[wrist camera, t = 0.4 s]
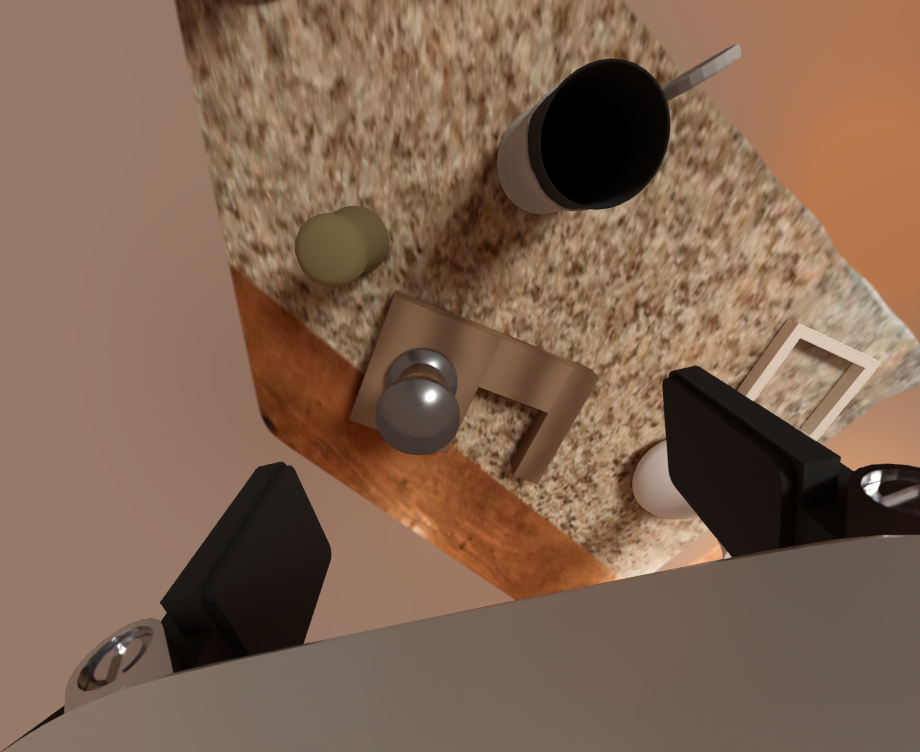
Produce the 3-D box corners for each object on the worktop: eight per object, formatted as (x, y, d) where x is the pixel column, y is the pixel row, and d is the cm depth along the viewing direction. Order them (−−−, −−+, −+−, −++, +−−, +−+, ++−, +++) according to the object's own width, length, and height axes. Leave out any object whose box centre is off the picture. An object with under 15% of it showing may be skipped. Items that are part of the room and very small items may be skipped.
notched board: (353, 409, 46) (348, 420, 44) (396, 290, 42) (393, 295, 39) (533, 471, 50) (537, 484, 48) (591, 368, 46) (599, 377, 43)
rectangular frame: (723, 409, 48) (731, 415, 47) (787, 319, 44) (798, 323, 43) (801, 440, 50) (811, 447, 49) (868, 357, 46) (882, 362, 45)
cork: (352, 285, 41) (323, 312, 31) (310, 231, 39) (263, 242, 29) (402, 248, 40) (387, 264, 30) (361, 191, 38) (330, 187, 28)
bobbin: (377, 398, 43) (364, 439, 36) (401, 337, 41) (391, 367, 33) (441, 420, 44) (441, 465, 37) (468, 362, 42) (473, 397, 35)
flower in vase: (724, 418, 48) (979, 616, 25) (720, 498, 53) (935, 730, 30) (610, 439, 49) (758, 652, 26) (615, 517, 53) (746, 758, 30)
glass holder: (478, 142, 37) (499, 106, 23) (629, 42, 35) (752, -65, 21) (524, 232, 40) (567, 248, 26) (666, 146, 38) (795, 113, 24)
